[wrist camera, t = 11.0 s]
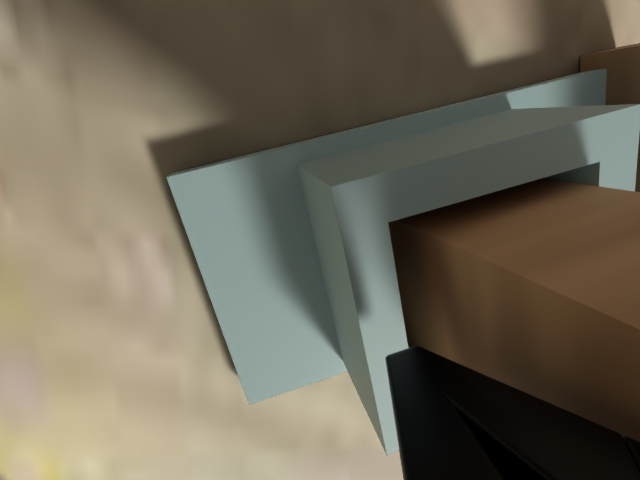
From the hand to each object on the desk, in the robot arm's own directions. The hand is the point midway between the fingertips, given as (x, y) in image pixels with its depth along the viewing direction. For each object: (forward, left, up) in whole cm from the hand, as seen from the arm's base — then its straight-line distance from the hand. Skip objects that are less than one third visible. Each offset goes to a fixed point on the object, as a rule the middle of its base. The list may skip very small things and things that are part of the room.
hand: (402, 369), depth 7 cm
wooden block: (0, +3, -5) cm, 6 cm away
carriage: (0, +3, -6) cm, 7 cm away
